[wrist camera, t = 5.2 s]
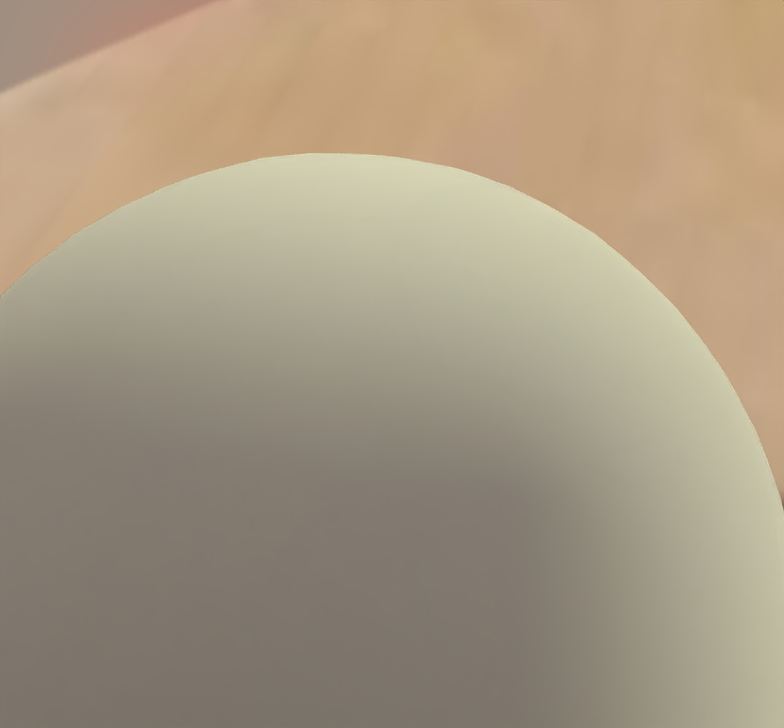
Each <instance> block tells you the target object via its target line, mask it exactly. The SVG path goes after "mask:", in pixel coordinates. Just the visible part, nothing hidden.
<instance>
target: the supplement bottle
mask: <svg viewBox="0 0 784 728" xmlns="http://www.w3.org/2000/svg"><path fill="white" fill-rule="evenodd" d="M0 728H784V510H783V506H782V502H781V498H780V495H779V492H778V489H777V486H776V483H775V480H774V477H773V474H772V472H771V469H770V466H769V463H768V460H767V458H766V455H765V453H764V450H763V448H762V445H761V443H760V440H759V438H758V435H757V433H756V430H755V428H754V426H753V425H752V423H751V421H750V419H749V417H748V415H747V413H746V412H745V410H744V407H743V405H742V403H741V401H740V399H739V397H738V395H737V394H736V392H735V390H734V388H733V387H732V385H731V383H730V381H729V380H728V378H727V376H726V374H725V373H724V371H723V370H722V368H721V367H720V365H719V364H718V362H717V361H716V360H715V358H714V357H713V355H712V354H711V352H710V351H709V349H708V348H707V347H706V345H705V344H704V342H703V341H702V339H701V338H700V337H699V336H698V334H697V333H696V332H695V331H694V329H693V328H692V327H691V326H690V324H689V323H688V322H687V321H686V320H685V318H684V317H683V316H682V315H681V313H680V312H679V311H678V310H677V308H676V307H675V306H674V305H673V304H672V303H671V302H670V301H669V300H668V299H667V298H666V297H665V296H664V295H663V294H662V293H661V292H660V291H659V290H658V289H657V288H656V287H655V286H654V285H653V284H652V283H651V282H650V281H649V280H648V279H647V278H646V277H645V276H644V275H643V274H642V273H640V272H639V271H638V270H637V269H636V268H635V267H634V266H633V265H632V264H630V263H629V262H628V261H627V260H626V259H625V258H624V257H623V256H621V255H620V254H619V253H618V252H616V251H615V250H614V249H613V248H612V247H610V246H609V245H608V244H607V243H605V242H604V241H603V240H602V239H601V238H599V237H598V236H597V235H596V234H594V233H593V232H591V231H589V230H588V229H586V228H584V227H583V226H581V225H579V224H578V223H576V222H575V221H573V220H571V219H570V218H568V217H566V216H565V215H563V214H561V213H560V212H558V211H557V210H555V209H553V208H552V207H550V206H548V205H546V204H544V203H542V202H540V201H538V200H536V199H534V198H532V197H530V196H528V195H526V194H524V193H522V192H520V191H518V190H516V189H514V188H512V187H509V186H507V185H504V184H501V183H498V182H496V181H493V180H490V179H487V178H485V177H482V176H479V175H476V174H473V173H470V172H467V171H463V170H460V169H457V168H454V167H449V166H443V165H438V164H433V163H428V162H423V161H417V160H412V159H407V158H401V157H392V156H380V155H366V154H347V153H306V154H296V155H287V156H278V157H269V158H260V159H256V160H252V161H248V162H244V163H240V164H236V165H232V166H228V167H224V168H221V169H217V170H214V171H210V172H207V173H204V174H200V175H197V176H193V177H190V178H187V179H184V180H182V181H179V182H177V183H174V184H172V185H169V186H166V187H164V188H161V189H159V190H157V191H155V192H153V193H151V194H148V195H146V196H144V197H142V198H140V199H138V200H135V201H133V202H131V203H129V204H126V205H124V206H122V207H120V208H118V209H116V210H114V211H113V212H111V213H109V214H108V215H106V216H104V217H103V218H101V219H99V220H97V221H96V222H94V223H92V224H91V225H89V226H87V227H86V228H84V229H82V230H80V231H79V232H77V233H75V234H74V235H73V236H71V237H70V238H69V239H67V240H66V241H65V242H63V243H62V244H61V245H59V246H58V247H57V248H56V249H54V250H53V251H52V252H50V253H49V254H48V255H46V256H45V257H44V258H42V259H41V260H40V261H39V262H37V263H36V264H35V265H33V266H32V267H31V268H29V269H28V270H27V271H26V272H25V273H24V274H23V275H22V276H21V277H20V278H19V279H18V280H17V281H16V282H15V283H14V284H13V285H12V286H11V287H10V288H9V289H8V290H7V291H6V292H4V293H3V294H2V295H1V296H0Z"/></svg>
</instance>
